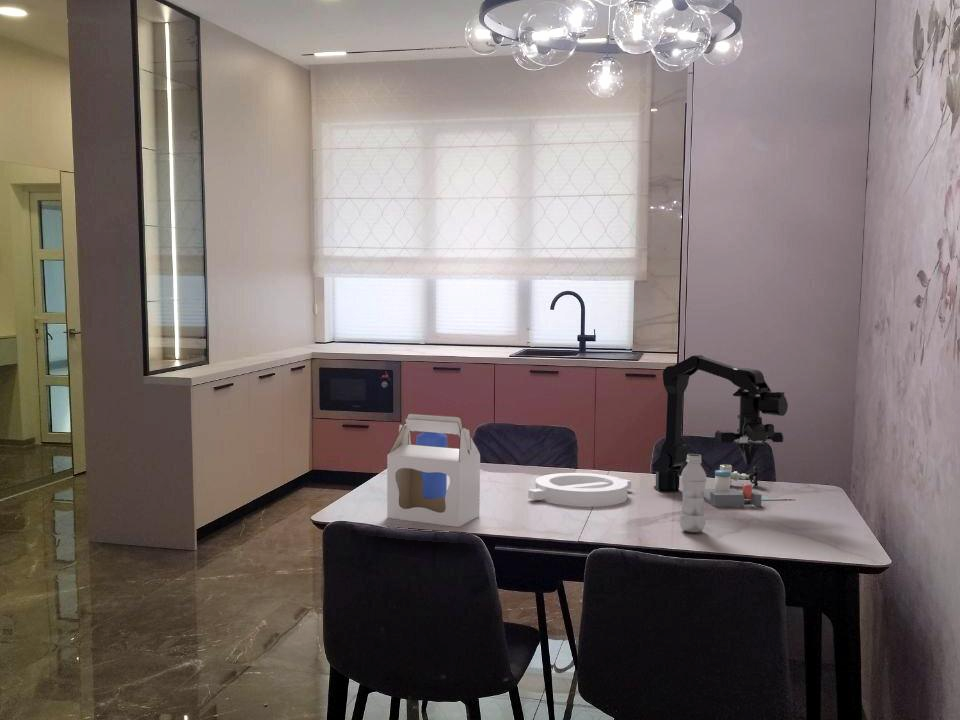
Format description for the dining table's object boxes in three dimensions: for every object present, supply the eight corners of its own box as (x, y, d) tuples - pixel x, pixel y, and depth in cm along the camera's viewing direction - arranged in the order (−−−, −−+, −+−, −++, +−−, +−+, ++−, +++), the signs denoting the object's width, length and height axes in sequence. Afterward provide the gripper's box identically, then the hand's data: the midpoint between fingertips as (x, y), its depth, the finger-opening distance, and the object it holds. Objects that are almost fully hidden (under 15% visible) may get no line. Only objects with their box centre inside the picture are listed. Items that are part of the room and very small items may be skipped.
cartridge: (717, 499, 257) (718, 472, 256) (712, 495, 261) (712, 470, 261) (732, 498, 257) (733, 472, 256) (726, 495, 261) (727, 469, 261)
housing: (714, 506, 246) (715, 495, 246) (692, 492, 265) (692, 481, 265) (761, 506, 247) (761, 494, 247) (735, 492, 267) (735, 481, 266)
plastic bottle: (700, 528, 222) (702, 453, 220) (708, 535, 215) (710, 457, 214) (676, 528, 221) (678, 452, 220) (683, 535, 215) (685, 457, 213)
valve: (719, 487, 274) (757, 489, 272) (719, 466, 274) (758, 468, 271) (718, 483, 281) (756, 485, 278) (718, 463, 280) (756, 465, 278)
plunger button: (744, 499, 247) (745, 485, 247) (741, 497, 250) (741, 484, 250) (753, 499, 248) (753, 485, 247) (749, 497, 250) (750, 483, 250)
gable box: (385, 518, 230) (386, 415, 228) (409, 507, 242) (410, 410, 240) (459, 527, 220) (460, 421, 219) (480, 516, 232) (481, 415, 231)
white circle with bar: (525, 503, 250) (525, 487, 250) (546, 484, 277) (546, 470, 276) (620, 510, 242) (621, 494, 241) (632, 491, 268) (632, 476, 268)
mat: (756, 500, 255) (757, 499, 255) (744, 493, 265) (744, 492, 265) (795, 500, 256) (795, 499, 256) (781, 493, 266) (781, 492, 266)
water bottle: (409, 500, 250) (410, 416, 249) (426, 494, 258) (426, 413, 257) (436, 504, 246) (437, 419, 244) (452, 498, 254) (453, 415, 252)
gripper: (729, 416, 238) (727, 471, 239) (793, 416, 240) (791, 470, 241) (714, 411, 249) (713, 463, 250) (775, 411, 251) (774, 463, 252)
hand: (748, 465), depth 248 cm, fingers closed
